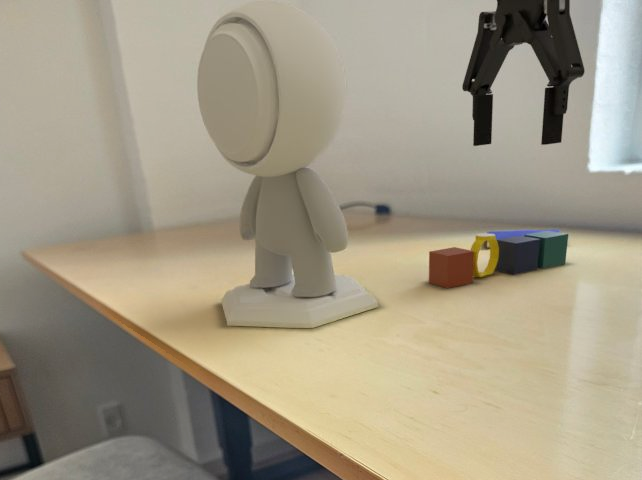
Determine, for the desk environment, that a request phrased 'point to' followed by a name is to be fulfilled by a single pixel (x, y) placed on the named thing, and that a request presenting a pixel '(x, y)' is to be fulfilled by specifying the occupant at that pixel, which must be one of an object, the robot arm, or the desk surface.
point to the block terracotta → (451, 267)
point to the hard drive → (514, 233)
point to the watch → (493, 254)
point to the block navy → (518, 254)
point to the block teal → (551, 248)
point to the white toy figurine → (280, 160)
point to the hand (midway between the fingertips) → (514, 144)
